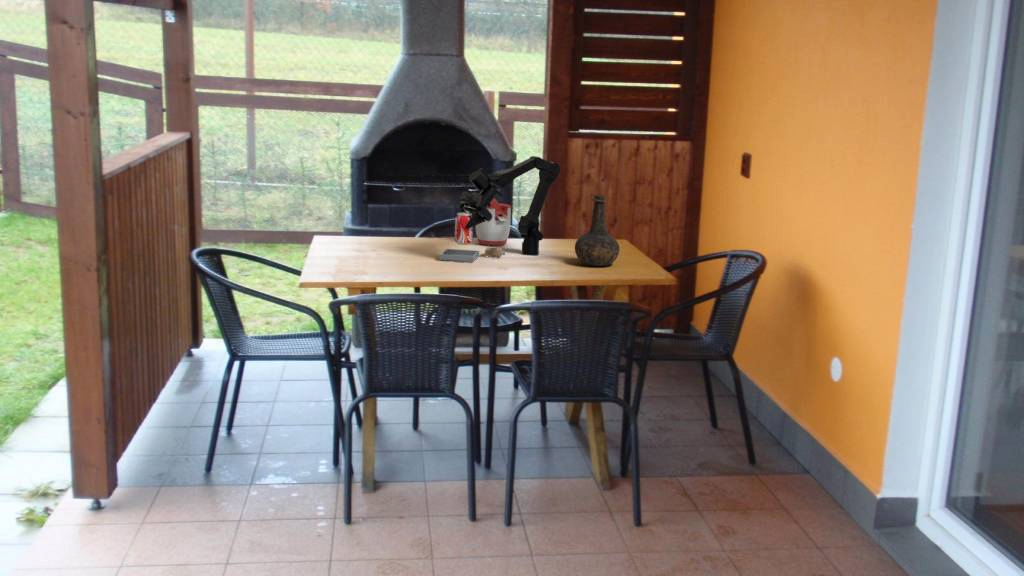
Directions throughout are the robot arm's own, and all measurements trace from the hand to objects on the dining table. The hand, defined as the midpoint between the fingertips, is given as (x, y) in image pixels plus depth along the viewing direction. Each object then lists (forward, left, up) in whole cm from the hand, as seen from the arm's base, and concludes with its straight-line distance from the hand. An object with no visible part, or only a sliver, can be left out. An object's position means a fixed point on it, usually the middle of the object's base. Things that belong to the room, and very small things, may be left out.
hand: (461, 227), depth 393 cm
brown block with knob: (-11, -14, -13) cm, 22 cm away
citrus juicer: (-7, -40, -13) cm, 43 cm away
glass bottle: (-53, -10, -13) cm, 56 cm away
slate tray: (+1, -3, -13) cm, 14 cm away
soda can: (-1, -1, -7) cm, 7 cm away
